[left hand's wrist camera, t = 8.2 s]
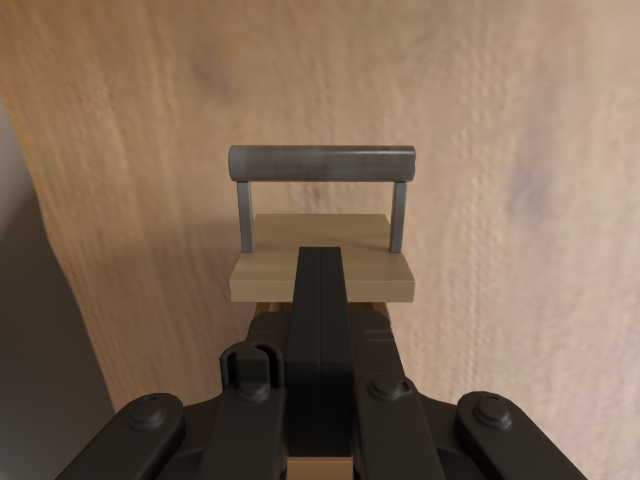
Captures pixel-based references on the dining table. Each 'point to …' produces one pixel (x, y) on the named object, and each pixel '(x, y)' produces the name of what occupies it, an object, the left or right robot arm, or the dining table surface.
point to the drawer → (322, 225)
